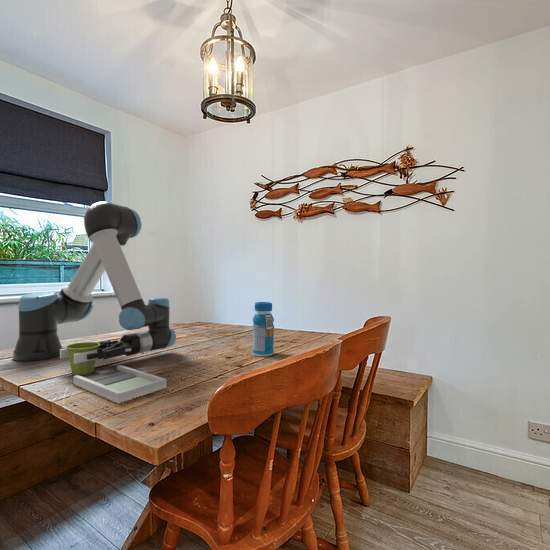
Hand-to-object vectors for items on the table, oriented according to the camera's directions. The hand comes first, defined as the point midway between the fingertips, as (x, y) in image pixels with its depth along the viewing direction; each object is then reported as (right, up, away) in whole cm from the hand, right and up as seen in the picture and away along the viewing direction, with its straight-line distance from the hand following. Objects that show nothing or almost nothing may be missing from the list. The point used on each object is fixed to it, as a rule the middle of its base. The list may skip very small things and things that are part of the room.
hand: (67, 356), depth 103 cm
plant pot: (+3, -6, +4) cm, 8 cm away
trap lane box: (+19, -6, -8) cm, 22 cm away
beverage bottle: (+58, -6, +29) cm, 65 cm away
